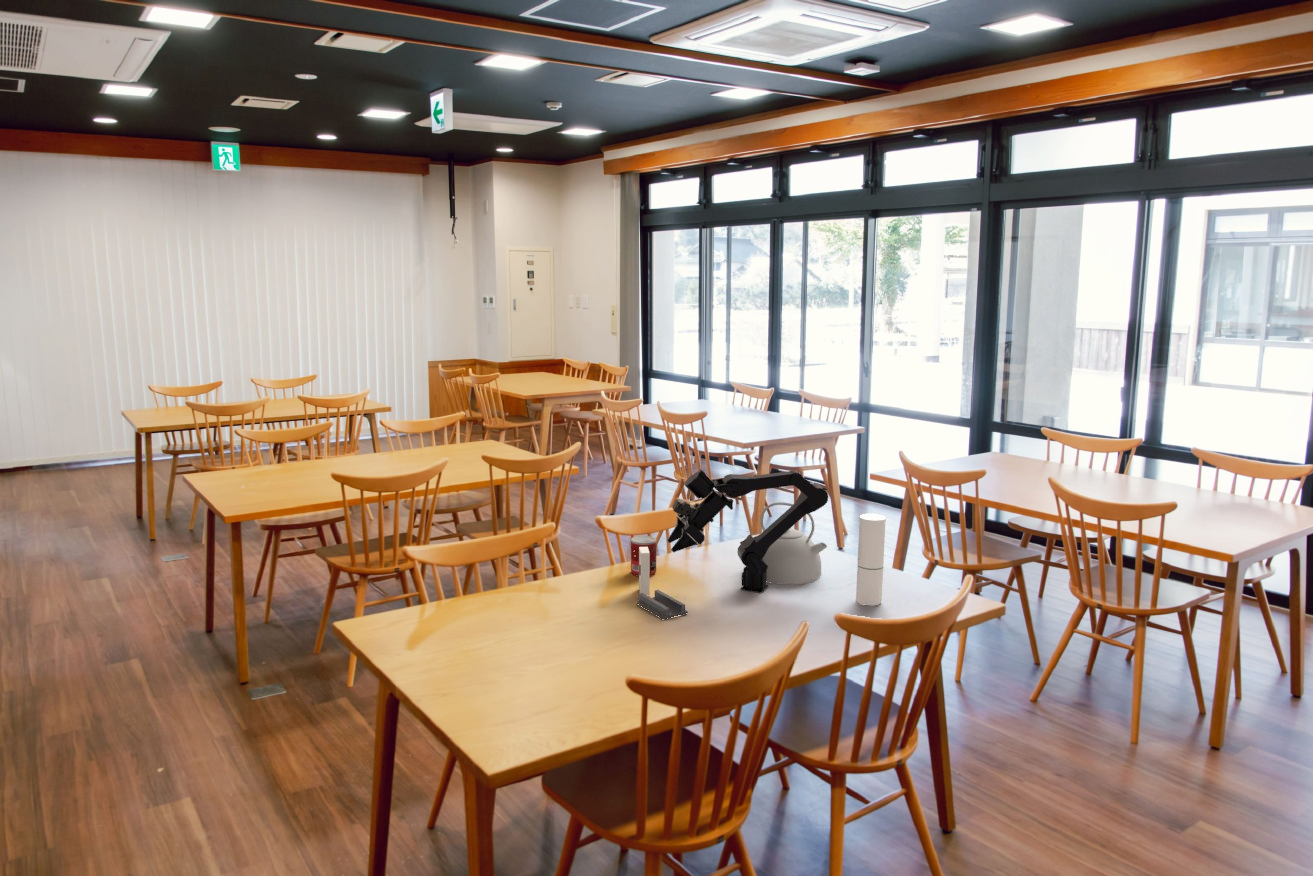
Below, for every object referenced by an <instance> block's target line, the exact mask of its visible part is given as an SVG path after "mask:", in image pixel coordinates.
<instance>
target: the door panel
mask: <svg viewBox="0 0 1313 876" xmlns="http://www.w3.org/2000/svg"><path fill="white" fill-rule="evenodd" d="M650 577H651V576H650V553H649V550H648V547H639V576H638V588H639V589H638V590H640V591H639V594H641V593H643V594H645V595H649V596H650Z"/></svg>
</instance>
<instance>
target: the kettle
mask: <svg viewBox="0 0 1313 876" xmlns="http://www.w3.org/2000/svg"><path fill="white" fill-rule="evenodd" d="M794 504H795V503H791V502H784V501H780V502H779V501H777V502H772V503H769V505H767V506H765V507H764V508H763V510H762V512H761V514H760V520H759V522H760V526H761V529H762V532H763V531H764V530H765V529H766V527H765V525H764V515H765V514H766V511H767V510H768V509H769V508H771V507H774V506H787V507H791V506H793V505H794ZM806 516H808V517H809V519H810V522H811V529H810V533H809V535H808V536H807V535H806V534H805V533H803V532H802V531H799V530H798V529H796V528H795V529H794V528H790V529H789V530H788V531H787V532H785V533H784V534H783V535H782V536H781V537H780V538H779V539H778V540H776V541H775V542H774V543H773V544H772V545H771V546H770V547H769V548H768V550H767V552H766V554H765V556H764V557H763V560H764V561H765V563H766V564H767V566H768V568H767V578H766V581H767V582H766V583H770V582H771V583H770V584H776V583H779V585H802V584H803V585H804V584H809V583H812V582H815V581H817V580H819V579H820V578H821V577H822V559H821V555H820V553H821V552H822V551H824V550H825V549H827V548H828V545H827V544H826V543H824V542H818V543H814V542H813V541H812V540H811V538H812V537H813V535H814V533H815V521H814V518H813V516H812V514H811V513H809V514H806ZM820 576H821V577H820Z"/></svg>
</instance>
